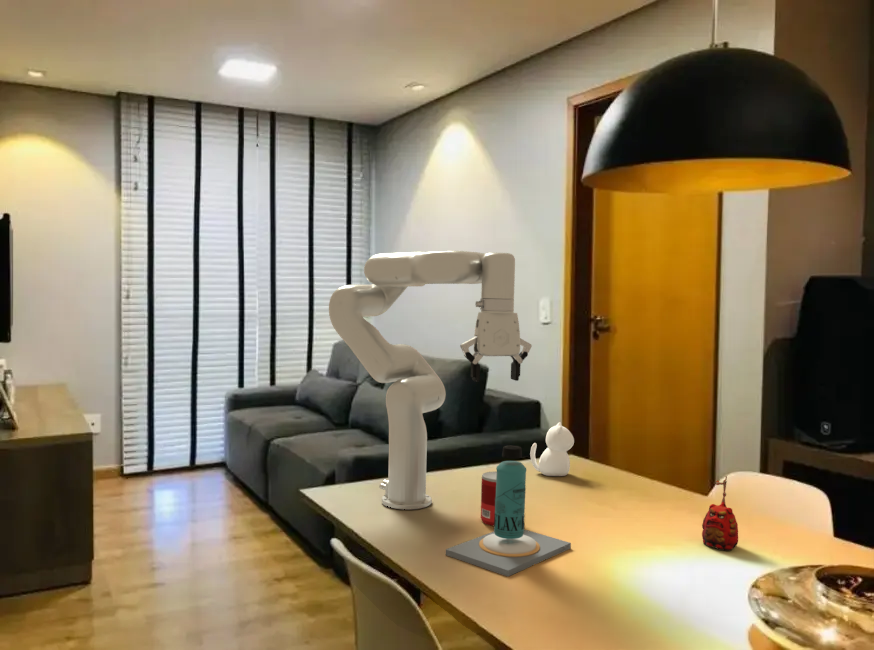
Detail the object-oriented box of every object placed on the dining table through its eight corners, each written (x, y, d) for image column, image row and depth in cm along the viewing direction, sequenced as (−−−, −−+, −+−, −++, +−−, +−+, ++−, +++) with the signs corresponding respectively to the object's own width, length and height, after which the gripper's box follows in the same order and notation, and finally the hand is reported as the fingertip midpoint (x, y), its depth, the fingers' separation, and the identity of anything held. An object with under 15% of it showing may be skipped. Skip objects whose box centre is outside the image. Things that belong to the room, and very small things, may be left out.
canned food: (512, 528, 177) (514, 480, 176) (478, 525, 178) (479, 478, 178) (516, 518, 184) (517, 472, 184) (482, 515, 186) (484, 470, 185)
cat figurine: (573, 479, 221) (575, 427, 220) (529, 477, 222) (531, 425, 221) (571, 471, 230) (573, 421, 229) (529, 469, 231) (531, 419, 230)
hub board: (445, 554, 159) (445, 544, 159) (510, 530, 175) (510, 520, 175) (507, 576, 148) (508, 565, 148) (570, 548, 164) (571, 538, 164)
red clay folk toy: (696, 545, 168) (699, 477, 167) (709, 538, 173) (712, 472, 172) (731, 554, 163) (734, 484, 162) (743, 546, 168) (746, 478, 167)
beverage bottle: (487, 541, 161) (489, 446, 160) (504, 533, 166) (507, 441, 165) (513, 548, 157) (516, 451, 156) (530, 540, 162) (533, 446, 161)
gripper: (467, 307, 172) (465, 383, 173) (538, 307, 177) (536, 381, 178) (456, 305, 179) (454, 378, 180) (525, 306, 184) (523, 377, 185)
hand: (495, 380), depth 179 cm, fingers open, 9 cm apart
